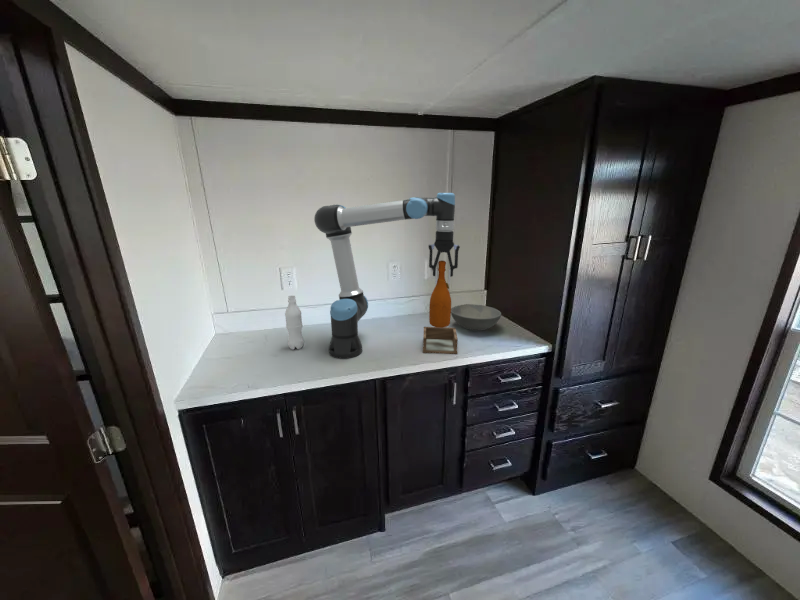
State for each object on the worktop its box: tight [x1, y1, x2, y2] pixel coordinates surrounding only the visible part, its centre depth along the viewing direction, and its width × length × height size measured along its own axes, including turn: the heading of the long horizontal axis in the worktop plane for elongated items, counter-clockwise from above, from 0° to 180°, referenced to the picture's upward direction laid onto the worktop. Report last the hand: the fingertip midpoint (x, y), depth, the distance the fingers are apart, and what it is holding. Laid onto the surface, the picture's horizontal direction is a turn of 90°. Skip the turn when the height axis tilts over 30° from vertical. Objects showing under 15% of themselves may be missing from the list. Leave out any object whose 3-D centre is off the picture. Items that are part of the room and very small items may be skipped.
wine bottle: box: [428, 260, 452, 328], centre depth 155 cm, size 10×10×30 cm
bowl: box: [451, 303, 502, 331], centre depth 185 cm, size 26×26×10 cm
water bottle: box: [284, 295, 305, 351], centre depth 158 cm, size 7×7×25 cm
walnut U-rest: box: [422, 326, 459, 355], centre depth 163 cm, size 16×16×7 cm
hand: (442, 283), depth 154 cm, fingers closed on wine bottle, 5 cm apart
